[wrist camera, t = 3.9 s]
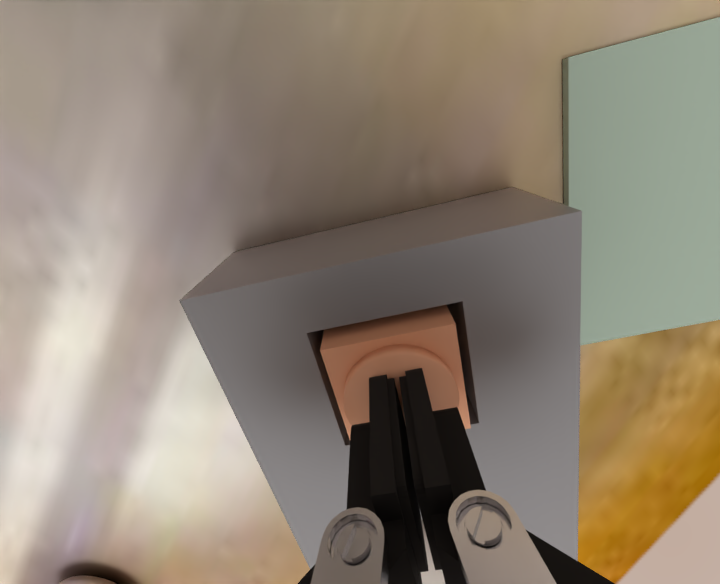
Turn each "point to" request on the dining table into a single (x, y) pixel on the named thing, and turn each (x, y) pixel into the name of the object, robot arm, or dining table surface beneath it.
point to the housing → (397, 296)
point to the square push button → (395, 360)
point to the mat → (646, 180)
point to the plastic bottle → (86, 580)
